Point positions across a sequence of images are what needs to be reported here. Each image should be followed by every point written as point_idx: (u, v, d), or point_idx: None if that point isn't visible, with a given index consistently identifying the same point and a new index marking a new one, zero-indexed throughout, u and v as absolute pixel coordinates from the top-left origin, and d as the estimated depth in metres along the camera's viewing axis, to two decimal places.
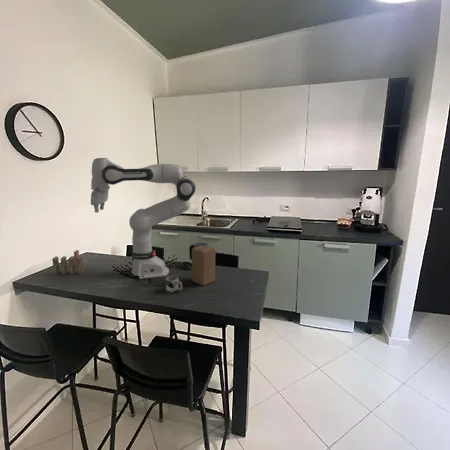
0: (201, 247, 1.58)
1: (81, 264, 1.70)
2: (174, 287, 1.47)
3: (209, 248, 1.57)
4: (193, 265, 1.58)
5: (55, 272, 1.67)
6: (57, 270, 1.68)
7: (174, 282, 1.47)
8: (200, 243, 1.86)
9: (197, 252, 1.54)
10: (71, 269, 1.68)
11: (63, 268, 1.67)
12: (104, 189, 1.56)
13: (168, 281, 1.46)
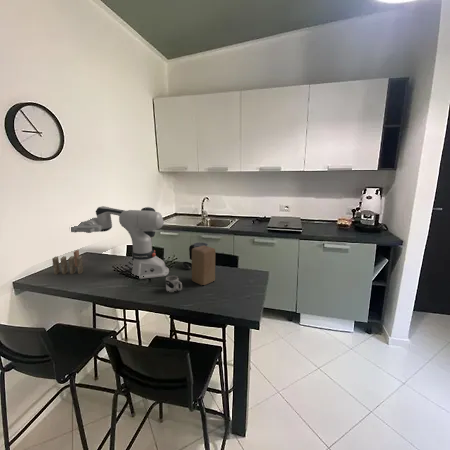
0: (201, 247, 1.58)
1: (81, 264, 1.70)
2: (174, 287, 1.47)
3: (209, 248, 1.57)
4: (193, 265, 1.58)
5: (55, 272, 1.67)
6: (57, 270, 1.68)
7: (174, 282, 1.47)
8: (200, 243, 1.86)
9: (197, 252, 1.54)
10: (71, 269, 1.68)
11: (63, 268, 1.67)
12: None
13: (168, 281, 1.46)
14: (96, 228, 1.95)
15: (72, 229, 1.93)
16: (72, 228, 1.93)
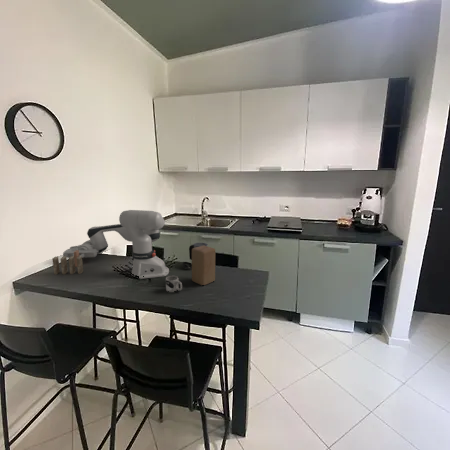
0: (201, 247, 1.58)
1: (81, 264, 1.70)
2: (174, 287, 1.47)
3: (209, 248, 1.57)
4: (193, 265, 1.58)
5: (55, 272, 1.67)
6: (57, 270, 1.68)
7: (174, 282, 1.47)
8: (200, 243, 1.85)
9: (197, 252, 1.54)
10: (71, 269, 1.68)
11: (63, 268, 1.67)
12: None
13: (168, 281, 1.46)
14: (91, 253, 1.85)
15: (66, 255, 1.83)
16: (66, 254, 1.83)
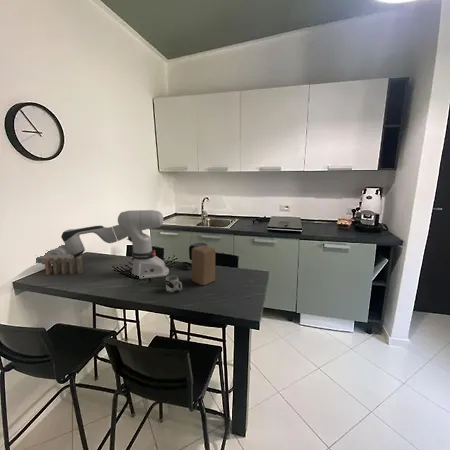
0: (201, 247, 1.58)
1: (81, 264, 1.70)
2: (174, 287, 1.47)
3: (209, 248, 1.57)
4: (193, 265, 1.58)
5: (55, 272, 1.67)
6: (57, 270, 1.68)
7: (174, 282, 1.47)
8: (200, 243, 1.85)
9: (197, 252, 1.54)
10: (71, 269, 1.68)
11: (63, 268, 1.67)
12: None
13: (168, 281, 1.46)
14: None
15: (36, 260, 1.70)
16: (36, 259, 1.70)
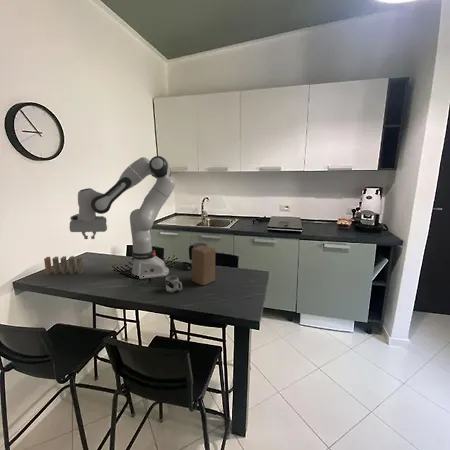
0: (201, 247, 1.58)
1: (81, 264, 1.70)
2: (174, 287, 1.47)
3: (209, 248, 1.57)
4: (193, 265, 1.58)
5: (55, 272, 1.67)
6: (57, 270, 1.68)
7: (174, 282, 1.47)
8: (200, 243, 1.85)
9: (197, 252, 1.54)
10: (71, 269, 1.68)
11: (63, 268, 1.67)
12: None
13: (168, 281, 1.46)
14: None
15: None
16: (74, 231, 1.64)
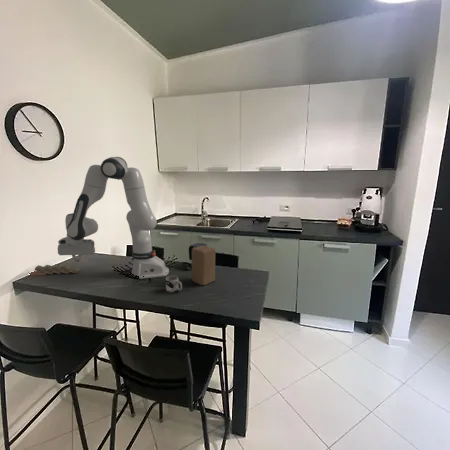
0: (201, 247, 1.58)
1: (70, 267, 1.70)
2: (174, 287, 1.47)
3: (209, 248, 1.57)
4: (193, 265, 1.58)
5: (50, 272, 1.67)
6: None
7: (174, 282, 1.47)
8: (199, 244, 1.85)
9: (197, 252, 1.54)
10: (63, 271, 1.68)
11: (54, 270, 1.67)
12: None
13: (168, 281, 1.46)
14: None
15: None
16: None
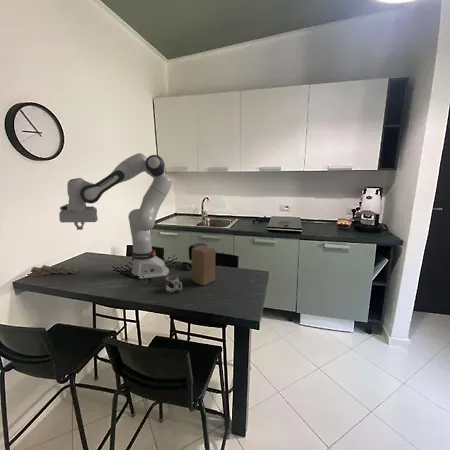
0: (201, 247, 1.58)
1: (69, 267, 1.70)
2: (174, 287, 1.47)
3: (209, 248, 1.57)
4: (193, 265, 1.58)
5: (47, 273, 1.66)
6: (46, 271, 1.66)
7: (174, 282, 1.47)
8: (199, 244, 1.84)
9: (197, 252, 1.54)
10: (62, 271, 1.67)
11: (52, 270, 1.67)
12: None
13: (168, 281, 1.46)
14: (93, 221, 1.65)
15: None
16: None
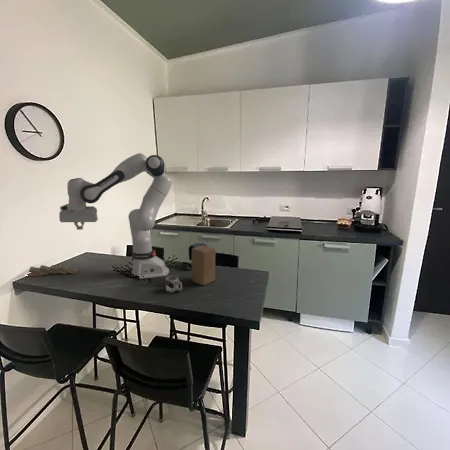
0: (201, 247, 1.58)
1: (68, 268, 1.69)
2: (174, 287, 1.47)
3: (209, 248, 1.57)
4: (193, 265, 1.58)
5: (46, 273, 1.65)
6: (44, 271, 1.66)
7: (174, 282, 1.47)
8: (199, 244, 1.84)
9: (197, 252, 1.54)
10: (61, 271, 1.67)
11: (51, 271, 1.66)
12: None
13: (168, 281, 1.46)
14: (93, 221, 1.65)
15: None
16: None
